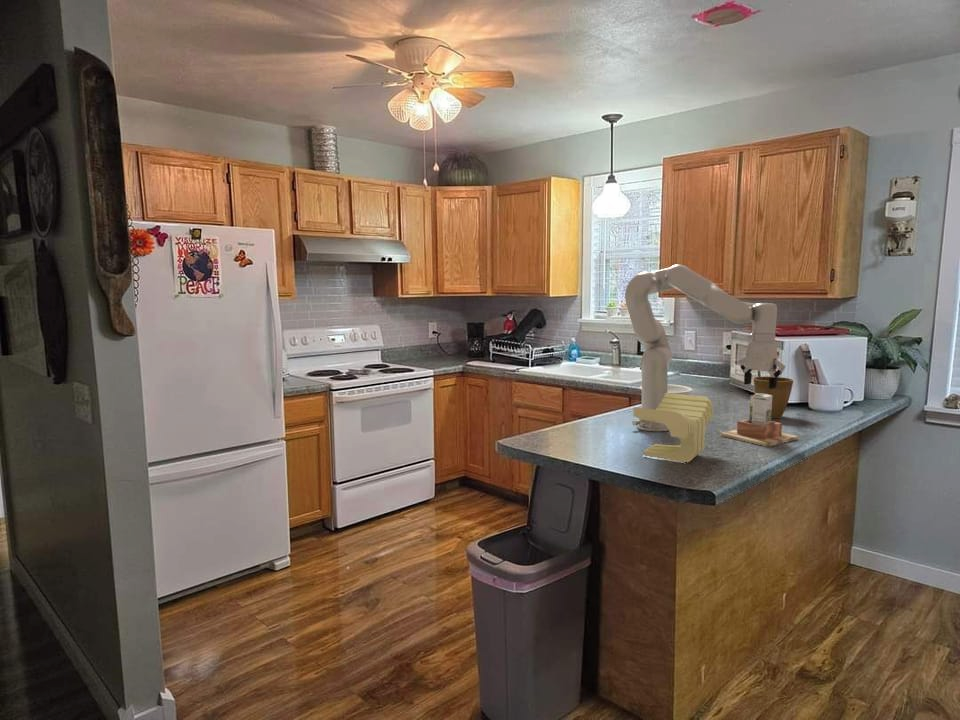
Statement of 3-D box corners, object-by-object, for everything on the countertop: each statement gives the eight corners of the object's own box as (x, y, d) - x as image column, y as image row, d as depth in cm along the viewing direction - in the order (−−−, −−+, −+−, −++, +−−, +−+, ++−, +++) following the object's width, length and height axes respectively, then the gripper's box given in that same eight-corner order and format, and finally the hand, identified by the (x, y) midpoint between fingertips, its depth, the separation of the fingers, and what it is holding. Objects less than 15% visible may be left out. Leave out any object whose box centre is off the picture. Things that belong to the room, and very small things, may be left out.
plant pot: (799, 417, 249) (801, 379, 247) (776, 422, 242) (778, 382, 240) (766, 411, 262) (768, 374, 260) (743, 415, 254) (745, 377, 253)
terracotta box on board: (766, 446, 205) (767, 430, 204) (721, 436, 220) (721, 420, 219) (797, 439, 214) (798, 423, 213) (752, 429, 229) (752, 414, 229)
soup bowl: (628, 401, 288) (628, 387, 287) (657, 395, 303) (658, 382, 302) (673, 409, 269) (673, 394, 268) (702, 402, 285) (702, 388, 284)
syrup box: (753, 432, 221) (755, 392, 219) (770, 434, 217) (772, 394, 215) (748, 434, 217) (749, 394, 215) (765, 437, 213) (767, 396, 211)
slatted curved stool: (684, 472, 178) (686, 413, 176) (632, 464, 187) (633, 407, 185) (711, 449, 202) (713, 397, 200) (664, 443, 211) (665, 392, 209)
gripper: (734, 336, 218) (731, 383, 220) (779, 340, 204) (775, 391, 206) (747, 335, 222) (744, 381, 224) (792, 339, 207) (789, 389, 210)
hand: (759, 386), depth 215 cm, fingers open, 9 cm apart
